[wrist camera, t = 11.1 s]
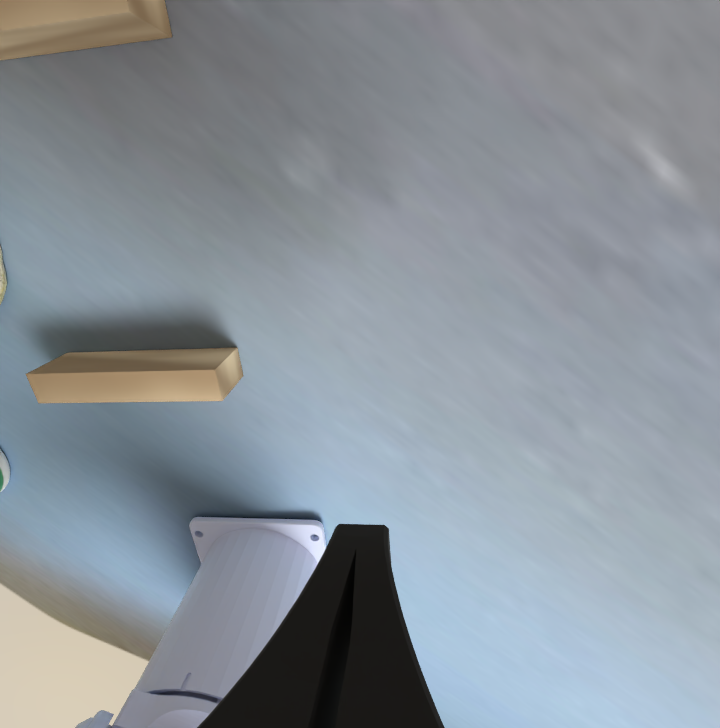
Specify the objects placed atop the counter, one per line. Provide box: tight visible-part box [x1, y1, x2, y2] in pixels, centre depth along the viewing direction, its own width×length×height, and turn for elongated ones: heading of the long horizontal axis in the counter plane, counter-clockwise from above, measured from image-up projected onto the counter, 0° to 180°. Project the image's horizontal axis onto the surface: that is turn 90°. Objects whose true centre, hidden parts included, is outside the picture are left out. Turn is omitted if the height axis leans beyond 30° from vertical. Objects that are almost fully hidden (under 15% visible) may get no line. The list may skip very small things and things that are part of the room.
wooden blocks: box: [0, 0, 243, 403], centre depth 17 cm, size 15×9×2 cm, turn 4°
